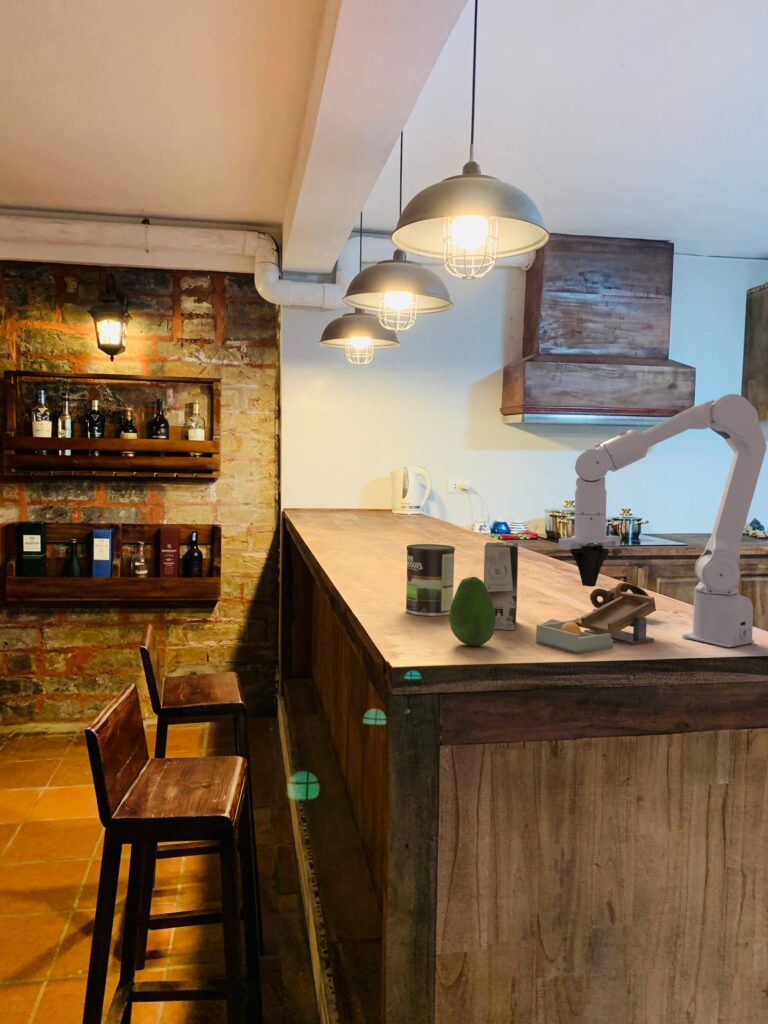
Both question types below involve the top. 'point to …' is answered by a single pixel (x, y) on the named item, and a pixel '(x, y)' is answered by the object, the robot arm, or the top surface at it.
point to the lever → (616, 613)
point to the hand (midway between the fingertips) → (588, 585)
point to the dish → (571, 639)
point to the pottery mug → (614, 593)
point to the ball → (571, 628)
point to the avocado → (472, 613)
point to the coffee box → (502, 581)
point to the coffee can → (429, 579)
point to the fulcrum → (630, 638)
